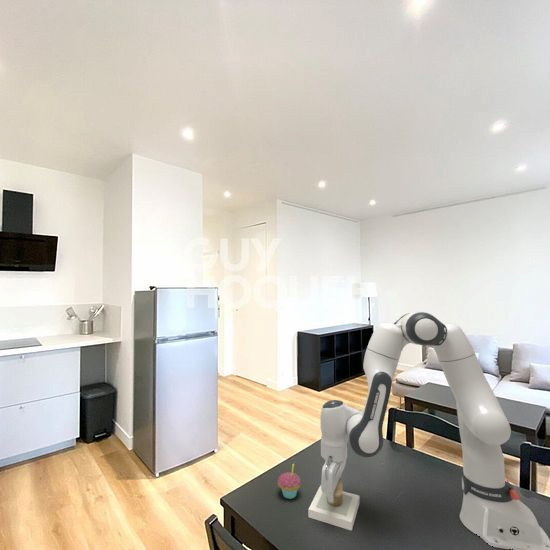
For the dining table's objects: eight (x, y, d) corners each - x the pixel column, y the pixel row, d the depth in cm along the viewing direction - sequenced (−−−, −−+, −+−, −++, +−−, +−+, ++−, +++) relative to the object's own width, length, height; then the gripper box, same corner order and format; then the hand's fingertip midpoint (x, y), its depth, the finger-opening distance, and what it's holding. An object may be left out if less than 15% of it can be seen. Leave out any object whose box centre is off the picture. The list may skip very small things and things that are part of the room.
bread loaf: (344, 498, 104) (343, 477, 105) (340, 508, 100) (340, 486, 100) (329, 494, 106) (328, 474, 107) (325, 504, 102) (324, 482, 102)
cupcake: (305, 492, 112) (304, 458, 113) (293, 505, 105) (293, 469, 106) (285, 484, 117) (285, 452, 118) (272, 496, 110) (272, 462, 111)
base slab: (359, 503, 106) (359, 494, 106) (351, 530, 94) (351, 521, 94) (320, 492, 112) (320, 484, 112) (308, 517, 99) (308, 508, 100)
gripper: (335, 467, 94) (336, 515, 92) (349, 439, 112) (349, 479, 111) (315, 463, 96) (316, 509, 95) (332, 436, 115) (332, 475, 114)
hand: (334, 492), depth 103 cm, fingers open, 8 cm apart
